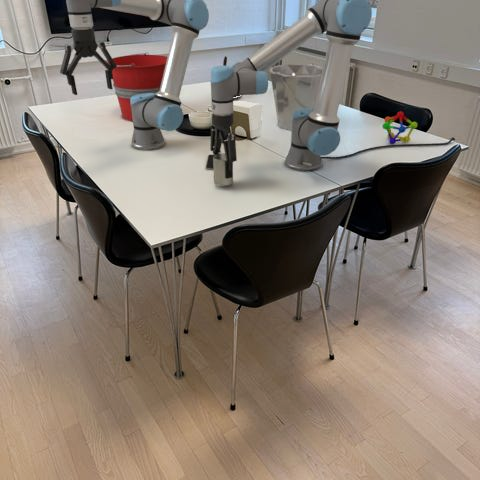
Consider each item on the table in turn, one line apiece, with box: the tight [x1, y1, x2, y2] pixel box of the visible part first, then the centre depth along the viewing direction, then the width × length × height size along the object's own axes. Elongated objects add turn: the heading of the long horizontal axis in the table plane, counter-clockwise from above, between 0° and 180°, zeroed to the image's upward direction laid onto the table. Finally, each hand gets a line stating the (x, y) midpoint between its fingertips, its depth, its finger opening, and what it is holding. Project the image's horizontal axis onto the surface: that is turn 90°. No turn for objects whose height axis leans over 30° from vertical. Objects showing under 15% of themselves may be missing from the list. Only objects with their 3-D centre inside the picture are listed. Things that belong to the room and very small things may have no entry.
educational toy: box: [382, 110, 418, 145], centre depth 207 cm, size 16×13×15 cm
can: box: [213, 152, 234, 187], centre depth 166 cm, size 7×7×10 cm
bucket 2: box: [269, 63, 323, 131], centre depth 226 cm, size 30×30×28 cm
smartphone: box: [205, 154, 214, 170], centre depth 188 cm, size 7×1×15 cm
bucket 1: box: [105, 52, 168, 122], centre depth 240 cm, size 35×35×30 cm
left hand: (92, 91), depth 163 cm, fingers open, 13 cm apart
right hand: (223, 173), depth 167 cm, fingers closed on can, 7 cm apart
